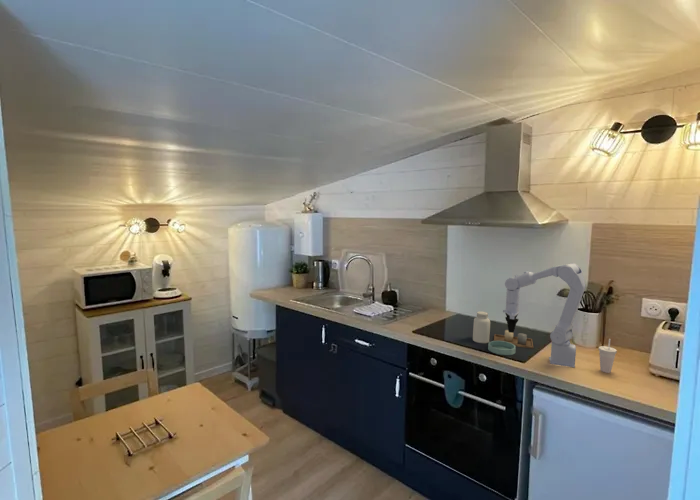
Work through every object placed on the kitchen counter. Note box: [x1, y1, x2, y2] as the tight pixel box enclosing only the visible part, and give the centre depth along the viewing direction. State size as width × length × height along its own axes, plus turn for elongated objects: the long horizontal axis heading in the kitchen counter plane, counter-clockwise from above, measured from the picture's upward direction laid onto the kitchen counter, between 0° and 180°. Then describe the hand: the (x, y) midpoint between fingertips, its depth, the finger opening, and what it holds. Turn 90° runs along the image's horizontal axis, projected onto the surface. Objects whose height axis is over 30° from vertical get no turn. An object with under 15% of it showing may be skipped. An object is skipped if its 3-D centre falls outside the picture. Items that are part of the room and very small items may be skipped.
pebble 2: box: [517, 332, 528, 345], centre depth 192 cm, size 4×4×5 cm
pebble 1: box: [504, 329, 514, 342], centre depth 197 cm, size 4×4×5 cm
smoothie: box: [598, 338, 618, 374], centre depth 163 cm, size 6×6×14 cm
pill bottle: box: [472, 310, 491, 344], centre depth 197 cm, size 8×8×15 cm
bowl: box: [487, 340, 517, 356], centre depth 185 cm, size 12×12×3 cm
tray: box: [493, 333, 534, 349], centre depth 196 cm, size 18×12×2 cm, turn 68°
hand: (510, 329), depth 187 cm, fingers open, 7 cm apart
